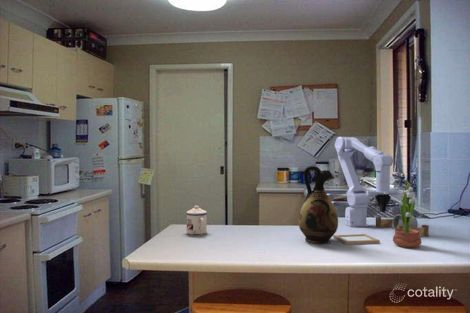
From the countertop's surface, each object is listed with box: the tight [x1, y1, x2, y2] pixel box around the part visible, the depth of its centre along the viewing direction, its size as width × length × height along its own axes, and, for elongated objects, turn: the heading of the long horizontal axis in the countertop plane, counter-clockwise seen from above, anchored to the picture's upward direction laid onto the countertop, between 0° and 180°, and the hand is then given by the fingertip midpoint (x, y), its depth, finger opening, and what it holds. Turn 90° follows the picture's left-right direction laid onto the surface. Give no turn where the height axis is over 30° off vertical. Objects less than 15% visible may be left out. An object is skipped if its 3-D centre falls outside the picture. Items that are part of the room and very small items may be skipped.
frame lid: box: [332, 233, 380, 246], centre depth 153 cm, size 14×11×1 cm
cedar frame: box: [375, 216, 429, 237], centre depth 172 cm, size 13×21×4 cm, turn 5°
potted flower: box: [392, 180, 422, 249], centre depth 145 cm, size 12×10×25 cm
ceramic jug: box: [297, 165, 339, 245], centre depth 152 cm, size 17×15×30 cm
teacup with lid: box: [185, 205, 208, 235], centre depth 165 cm, size 12×9×12 cm
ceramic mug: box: [391, 214, 419, 230], centre depth 173 cm, size 11×8×8 cm
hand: (382, 211), depth 171 cm, fingers closed
